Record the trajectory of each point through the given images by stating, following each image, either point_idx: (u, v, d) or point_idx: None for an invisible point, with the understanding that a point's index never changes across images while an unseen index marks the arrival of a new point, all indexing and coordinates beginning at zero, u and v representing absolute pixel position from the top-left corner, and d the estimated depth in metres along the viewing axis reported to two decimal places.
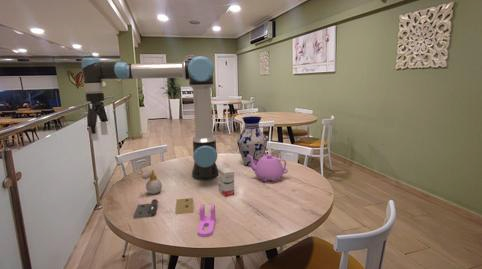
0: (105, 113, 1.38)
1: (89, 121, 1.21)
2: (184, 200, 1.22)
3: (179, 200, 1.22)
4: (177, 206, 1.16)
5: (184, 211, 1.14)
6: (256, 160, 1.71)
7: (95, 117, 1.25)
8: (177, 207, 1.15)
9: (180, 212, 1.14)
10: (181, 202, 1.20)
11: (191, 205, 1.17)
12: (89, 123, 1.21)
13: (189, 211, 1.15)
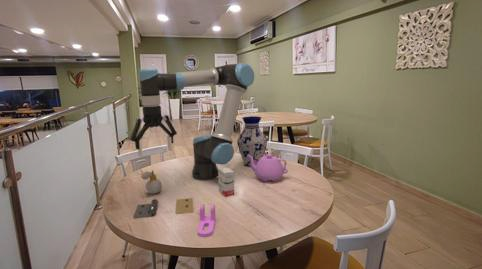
0: (172, 128, 1.25)
1: (131, 136, 1.16)
2: (184, 200, 1.22)
3: (179, 200, 1.22)
4: (177, 206, 1.16)
5: (184, 211, 1.14)
6: (256, 160, 1.71)
7: (141, 132, 1.17)
8: (177, 207, 1.15)
9: (180, 212, 1.14)
10: (181, 202, 1.20)
11: (191, 205, 1.17)
12: (131, 138, 1.16)
13: (189, 211, 1.15)
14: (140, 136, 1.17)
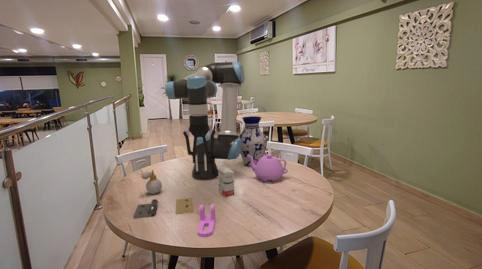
0: (211, 144, 1.15)
1: None
2: (184, 200, 1.22)
3: (179, 200, 1.22)
4: (177, 206, 1.16)
5: (185, 211, 1.14)
6: (256, 160, 1.71)
7: (193, 145, 1.14)
8: (177, 207, 1.15)
9: (181, 212, 1.14)
10: (181, 202, 1.20)
11: (191, 205, 1.17)
12: None
13: (190, 211, 1.15)
14: (194, 149, 1.14)
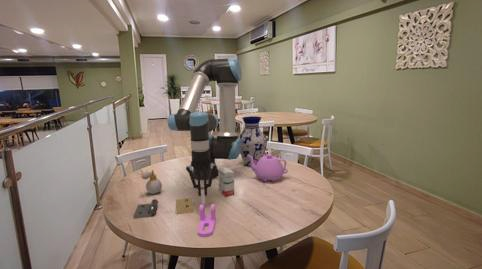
0: (210, 179, 1.17)
1: None
2: (184, 200, 1.22)
3: (178, 200, 1.22)
4: (177, 206, 1.16)
5: (185, 211, 1.14)
6: (256, 160, 1.71)
7: None
8: (177, 207, 1.15)
9: (181, 212, 1.14)
10: (181, 202, 1.20)
11: (191, 205, 1.17)
12: None
13: (190, 211, 1.15)
14: (198, 183, 1.17)
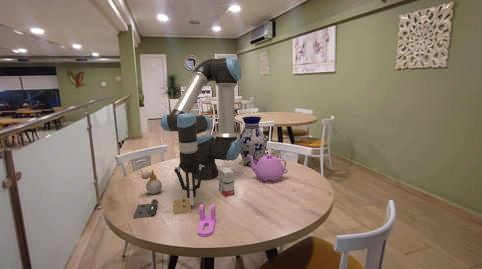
0: (199, 180, 1.17)
1: None
2: (181, 200, 1.22)
3: (176, 201, 1.21)
4: (175, 206, 1.16)
5: (182, 211, 1.14)
6: (256, 160, 1.71)
7: None
8: (175, 207, 1.15)
9: (178, 212, 1.14)
10: (178, 203, 1.19)
11: (189, 205, 1.16)
12: None
13: (187, 211, 1.15)
14: (187, 185, 1.16)
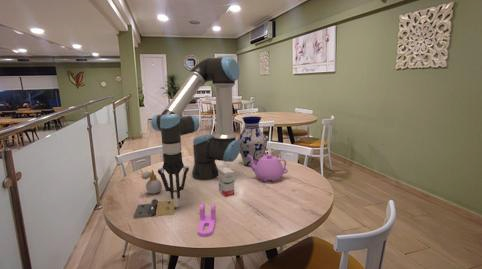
0: (183, 181, 1.16)
1: None
2: (166, 202, 1.20)
3: (161, 202, 1.21)
4: (158, 208, 1.15)
5: (165, 213, 1.13)
6: (256, 160, 1.71)
7: None
8: (158, 209, 1.14)
9: (161, 214, 1.13)
10: (162, 204, 1.18)
11: (172, 208, 1.15)
12: None
13: (170, 213, 1.13)
14: (171, 186, 1.15)
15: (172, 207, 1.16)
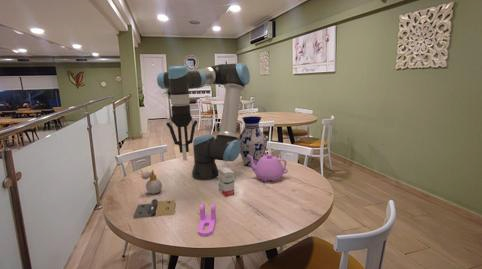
0: (191, 134, 1.16)
1: None
2: (166, 202, 1.20)
3: (161, 202, 1.21)
4: (158, 208, 1.15)
5: (164, 213, 1.13)
6: (256, 160, 1.71)
7: (178, 135, 1.15)
8: (158, 209, 1.14)
9: (160, 214, 1.13)
10: (162, 204, 1.18)
11: (172, 208, 1.15)
12: None
13: (170, 213, 1.13)
14: (180, 139, 1.16)
15: (172, 207, 1.16)
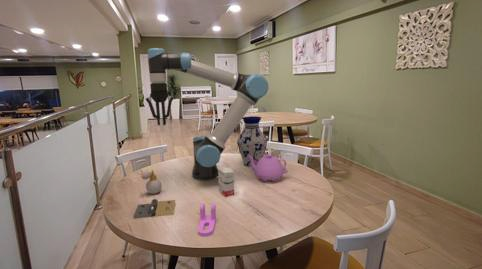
0: (168, 109, 1.33)
1: None
2: (166, 202, 1.20)
3: (161, 202, 1.21)
4: (158, 208, 1.15)
5: (164, 213, 1.13)
6: (256, 160, 1.71)
7: (156, 110, 1.32)
8: (157, 209, 1.14)
9: (160, 214, 1.13)
10: (162, 204, 1.18)
11: (172, 208, 1.15)
12: None
13: (169, 213, 1.13)
14: (157, 113, 1.32)
15: (172, 207, 1.15)
